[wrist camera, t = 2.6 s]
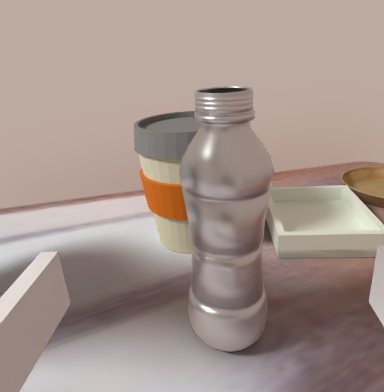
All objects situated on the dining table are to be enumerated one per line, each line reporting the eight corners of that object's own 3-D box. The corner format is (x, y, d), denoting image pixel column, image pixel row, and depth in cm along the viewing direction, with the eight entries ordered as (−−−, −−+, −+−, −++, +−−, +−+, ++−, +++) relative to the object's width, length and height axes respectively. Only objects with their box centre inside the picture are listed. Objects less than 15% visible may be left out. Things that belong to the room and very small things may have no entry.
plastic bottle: (225, 295, 34) (220, 82, 26) (283, 333, 29) (299, 85, 21) (173, 330, 30) (150, 93, 22) (230, 380, 25) (226, 100, 17)
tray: (277, 258, 39) (278, 235, 38) (262, 206, 52) (262, 187, 51) (387, 257, 38) (392, 233, 37) (343, 204, 51) (346, 185, 50)
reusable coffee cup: (244, 215, 49) (244, 109, 44) (239, 265, 38) (239, 132, 32) (160, 212, 52) (149, 111, 46) (132, 259, 41) (114, 134, 35)
